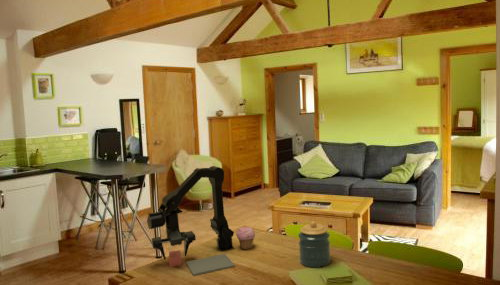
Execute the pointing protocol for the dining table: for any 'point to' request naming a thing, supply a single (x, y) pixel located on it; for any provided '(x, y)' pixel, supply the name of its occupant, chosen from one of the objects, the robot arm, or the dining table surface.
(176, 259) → the red block
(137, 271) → the dining table surface
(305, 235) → the canister
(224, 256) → the mat
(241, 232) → the cupcake
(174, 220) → the robot arm
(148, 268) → the dining table surface
